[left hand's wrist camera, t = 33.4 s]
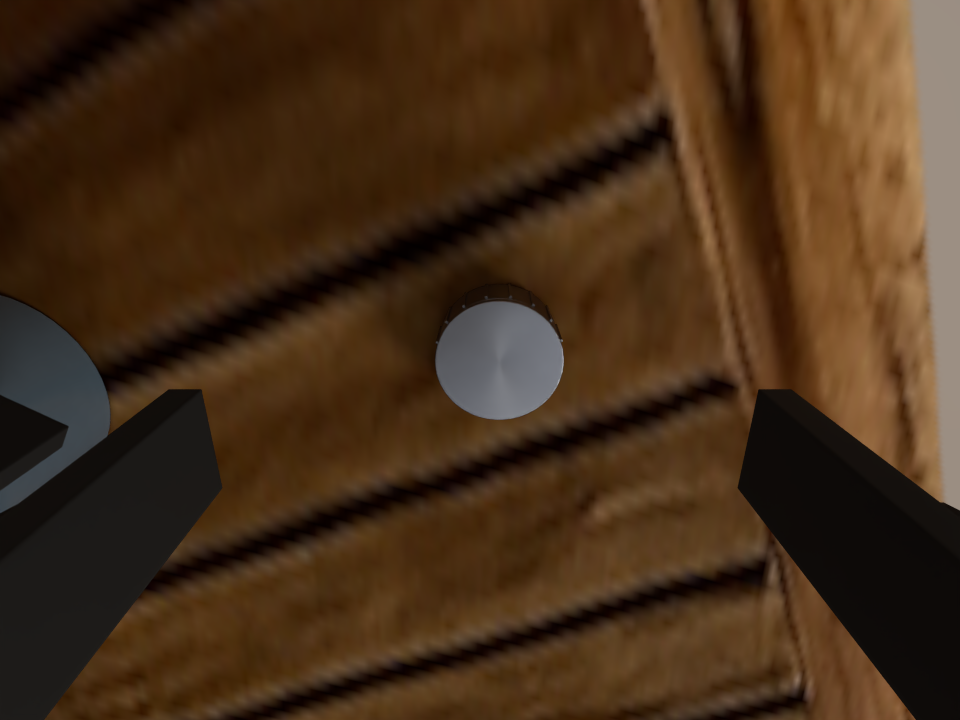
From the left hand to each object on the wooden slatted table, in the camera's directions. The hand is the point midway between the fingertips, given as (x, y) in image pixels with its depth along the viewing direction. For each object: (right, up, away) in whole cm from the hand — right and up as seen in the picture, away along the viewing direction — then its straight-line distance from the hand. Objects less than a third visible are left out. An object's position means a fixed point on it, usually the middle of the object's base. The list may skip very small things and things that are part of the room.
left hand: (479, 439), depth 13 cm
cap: (+1, +2, +4) cm, 4 cm away
